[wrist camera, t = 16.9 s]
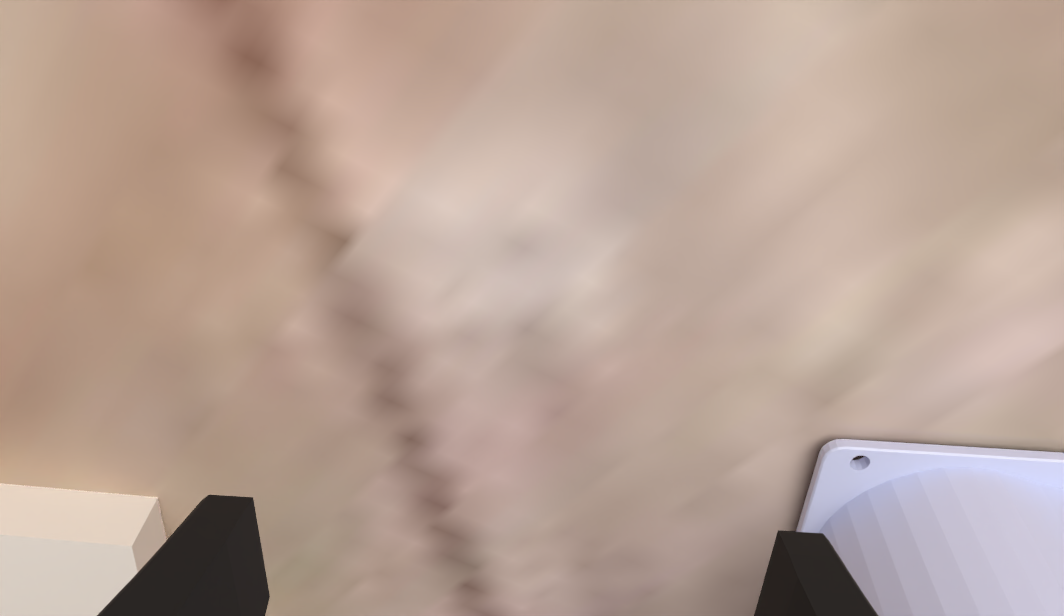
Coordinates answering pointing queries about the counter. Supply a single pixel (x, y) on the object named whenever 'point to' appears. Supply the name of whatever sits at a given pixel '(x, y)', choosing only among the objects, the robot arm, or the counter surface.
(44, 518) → the ceramic tile
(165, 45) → the counter surface
